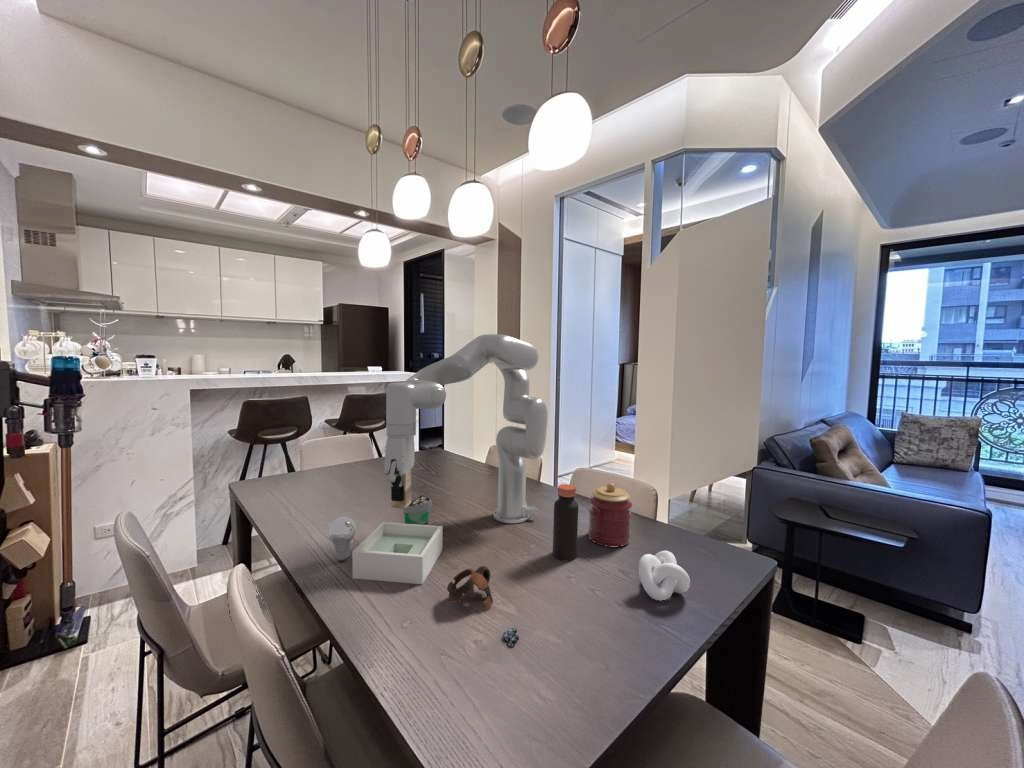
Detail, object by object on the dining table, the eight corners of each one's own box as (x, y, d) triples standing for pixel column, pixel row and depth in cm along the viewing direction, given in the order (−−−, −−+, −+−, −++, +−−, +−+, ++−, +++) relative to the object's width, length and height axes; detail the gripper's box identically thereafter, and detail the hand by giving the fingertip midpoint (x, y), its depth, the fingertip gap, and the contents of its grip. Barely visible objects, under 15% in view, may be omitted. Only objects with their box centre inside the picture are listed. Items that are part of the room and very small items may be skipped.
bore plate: (438, 547, 119) (438, 537, 119) (420, 577, 104) (420, 566, 103) (384, 543, 121) (384, 533, 121) (358, 572, 105) (358, 561, 105)
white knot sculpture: (629, 577, 108) (631, 543, 107) (676, 578, 108) (678, 545, 107) (641, 603, 97) (643, 566, 96) (693, 605, 97) (696, 568, 96)
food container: (422, 540, 126) (422, 508, 125) (403, 538, 127) (403, 506, 126) (437, 524, 138) (437, 494, 137) (420, 522, 139) (420, 492, 138)
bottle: (562, 547, 123) (564, 481, 122) (581, 555, 119) (584, 487, 117) (547, 554, 119) (549, 486, 117) (566, 564, 114) (569, 492, 112)
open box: (442, 549, 120) (442, 526, 120) (422, 584, 103) (422, 556, 102) (382, 545, 122) (382, 521, 122) (352, 578, 104) (352, 551, 104)
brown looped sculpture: (485, 622, 90) (466, 590, 89) (453, 626, 94) (435, 596, 94) (507, 581, 100) (490, 553, 99) (477, 587, 105) (461, 560, 104)
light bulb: (361, 556, 115) (361, 514, 114) (343, 569, 109) (343, 524, 108) (341, 552, 117) (340, 510, 117) (322, 564, 111) (321, 520, 110)
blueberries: (528, 630, 88) (528, 621, 88) (531, 654, 80) (531, 644, 80) (496, 630, 88) (496, 621, 88) (496, 655, 80) (496, 645, 80)
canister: (638, 538, 130) (640, 483, 129) (617, 552, 121) (620, 493, 119) (601, 526, 139) (603, 474, 138) (579, 538, 130) (581, 482, 128)
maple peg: (410, 503, 113) (411, 466, 112) (405, 508, 109) (405, 471, 108) (396, 502, 113) (396, 466, 112) (390, 507, 109) (390, 470, 108)
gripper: (399, 423, 118) (399, 486, 120) (373, 435, 102) (373, 508, 103) (425, 424, 117) (424, 488, 119) (403, 436, 101) (403, 510, 102)
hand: (401, 496), depth 111 cm, fingers closed on maple peg, 4 cm apart
